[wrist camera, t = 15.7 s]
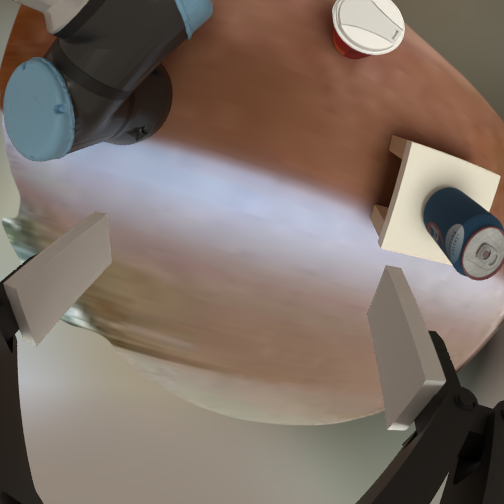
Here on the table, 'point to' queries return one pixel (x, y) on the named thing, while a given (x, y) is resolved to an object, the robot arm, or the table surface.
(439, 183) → the small white stool
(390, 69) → the table surface
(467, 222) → the soda can
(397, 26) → the paper cup
